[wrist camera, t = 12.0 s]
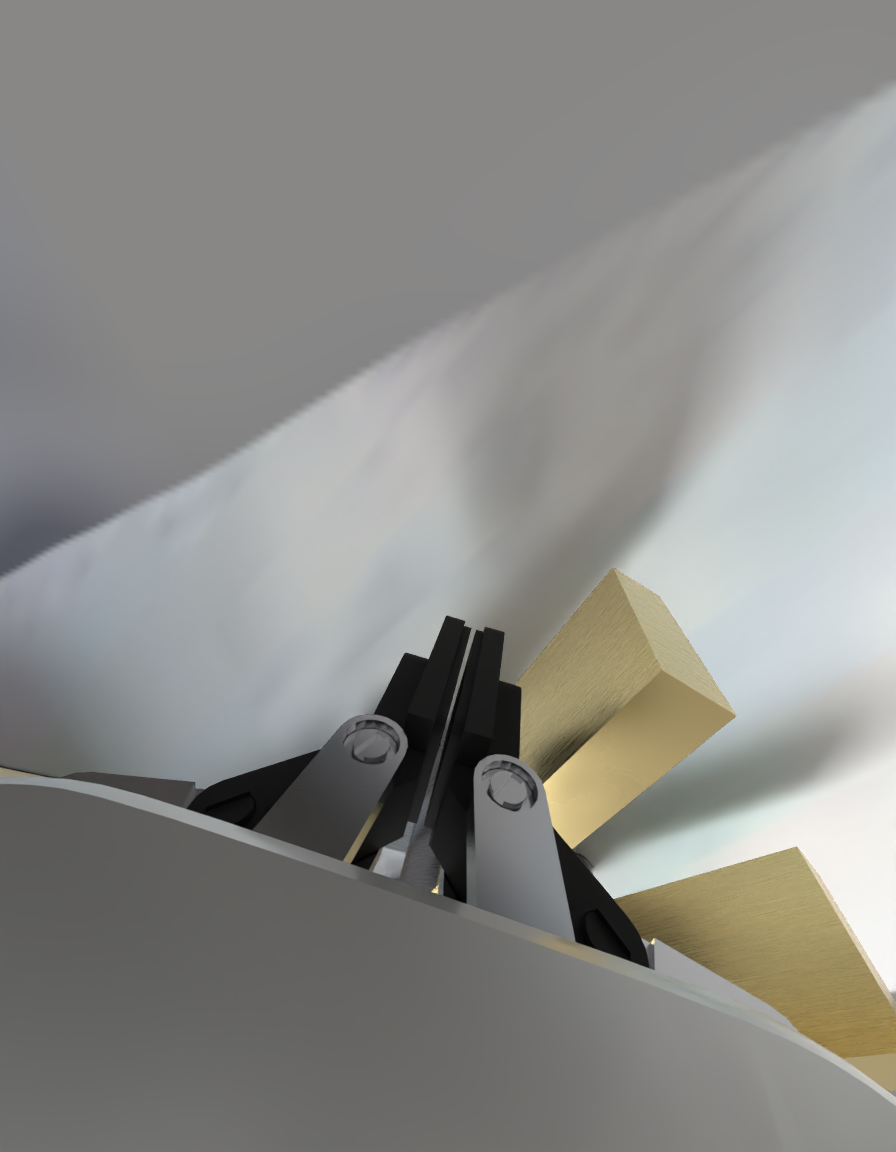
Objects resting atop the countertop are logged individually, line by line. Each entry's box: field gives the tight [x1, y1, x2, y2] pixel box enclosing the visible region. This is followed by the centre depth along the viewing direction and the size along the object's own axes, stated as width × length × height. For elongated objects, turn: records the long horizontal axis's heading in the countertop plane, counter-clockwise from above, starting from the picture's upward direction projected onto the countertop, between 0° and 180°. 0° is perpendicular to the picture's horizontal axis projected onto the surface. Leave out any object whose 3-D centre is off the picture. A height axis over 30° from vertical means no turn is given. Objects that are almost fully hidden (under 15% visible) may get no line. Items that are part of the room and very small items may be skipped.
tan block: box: [398, 568, 736, 894], centre depth 13 cm, size 11×3×8 cm, turn 150°
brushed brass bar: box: [575, 847, 896, 1091], centre depth 16 cm, size 11×3×8 cm, turn 131°
